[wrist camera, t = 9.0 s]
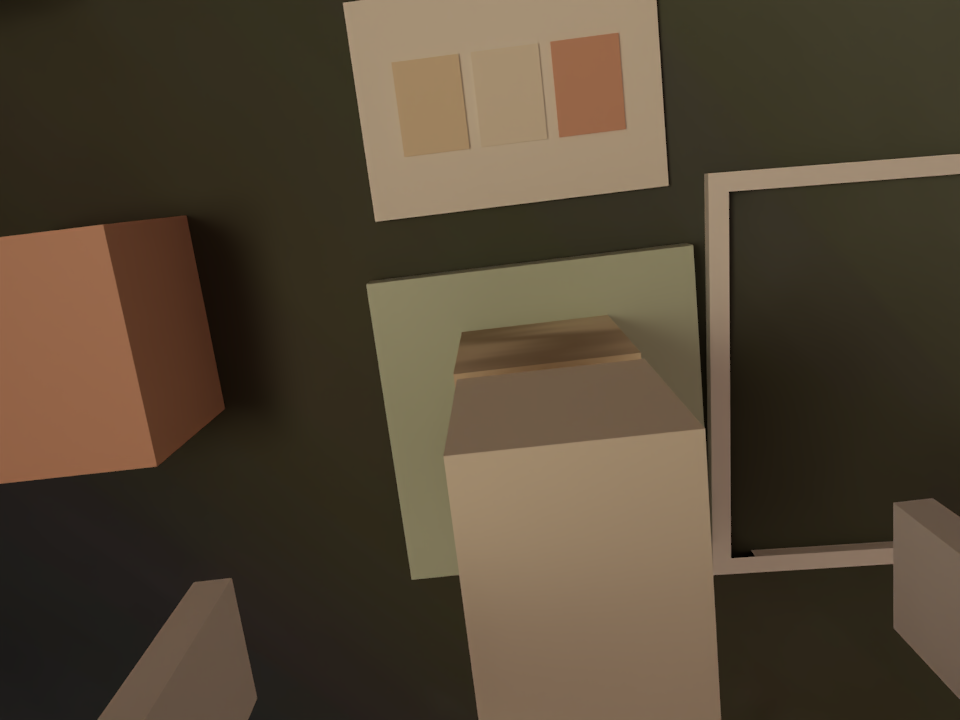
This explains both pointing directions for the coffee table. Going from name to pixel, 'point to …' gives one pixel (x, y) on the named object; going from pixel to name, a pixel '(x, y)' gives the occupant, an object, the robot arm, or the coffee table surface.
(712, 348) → the photo frame
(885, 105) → the coffee table surface
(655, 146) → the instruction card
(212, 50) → the coffee table surface
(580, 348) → the brick
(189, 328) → the brick
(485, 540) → the brick
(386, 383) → the baseplate
